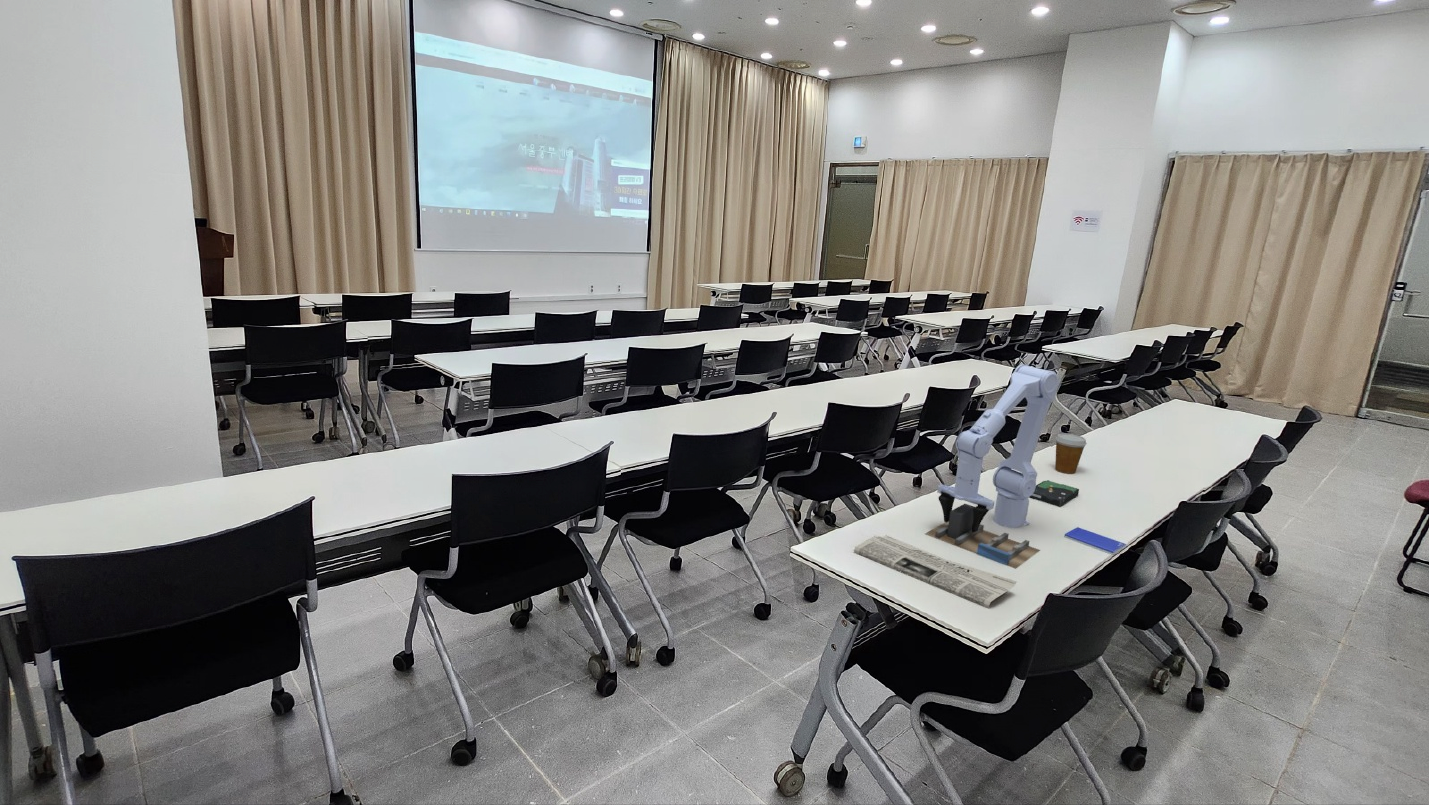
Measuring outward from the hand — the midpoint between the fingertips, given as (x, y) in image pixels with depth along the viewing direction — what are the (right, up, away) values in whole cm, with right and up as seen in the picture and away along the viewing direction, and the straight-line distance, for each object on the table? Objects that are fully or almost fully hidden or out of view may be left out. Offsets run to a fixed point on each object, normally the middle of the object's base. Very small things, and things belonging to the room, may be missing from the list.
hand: (960, 526), depth 183 cm
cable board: (+4, -4, -3) cm, 7 cm away
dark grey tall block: (0, -2, +1) cm, 2 cm away
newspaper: (-13, -8, -18) cm, 24 cm away
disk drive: (+40, +3, +33) cm, 51 cm away
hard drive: (+36, -5, +2) cm, 36 cm away
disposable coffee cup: (+55, +9, +56) cm, 79 cm away
